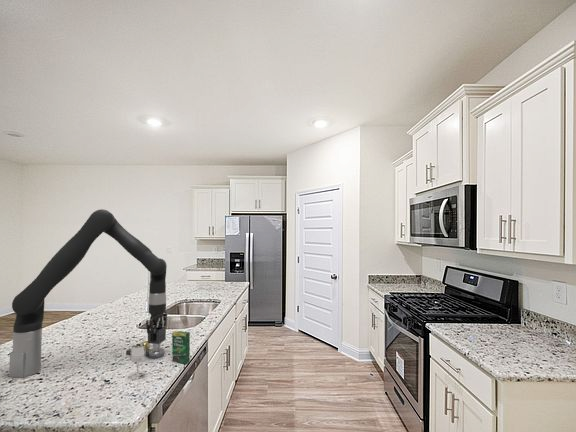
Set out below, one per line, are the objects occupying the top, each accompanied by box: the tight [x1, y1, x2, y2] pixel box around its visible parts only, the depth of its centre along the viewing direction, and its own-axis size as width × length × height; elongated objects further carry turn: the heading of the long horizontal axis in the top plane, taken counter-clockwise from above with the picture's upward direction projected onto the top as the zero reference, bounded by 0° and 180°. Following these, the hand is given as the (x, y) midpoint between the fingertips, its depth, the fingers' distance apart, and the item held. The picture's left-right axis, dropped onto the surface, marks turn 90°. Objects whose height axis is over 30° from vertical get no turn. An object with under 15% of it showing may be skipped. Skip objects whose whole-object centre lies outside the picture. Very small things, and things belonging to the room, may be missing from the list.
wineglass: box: [129, 343, 146, 380], centre depth 131 cm, size 6×6×12 cm
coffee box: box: [171, 330, 191, 365], centre depth 145 cm, size 8×3×13 cm, turn 66°
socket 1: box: [140, 340, 151, 350], centre depth 158 cm, size 4×4×4 cm
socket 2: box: [147, 326, 167, 345], centre depth 152 cm, size 6×6×6 cm
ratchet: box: [125, 343, 165, 360], centre depth 152 cm, size 6×18×6 cm, turn 81°
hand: (156, 339), depth 151 cm, fingers closed on socket 2, 5 cm apart
